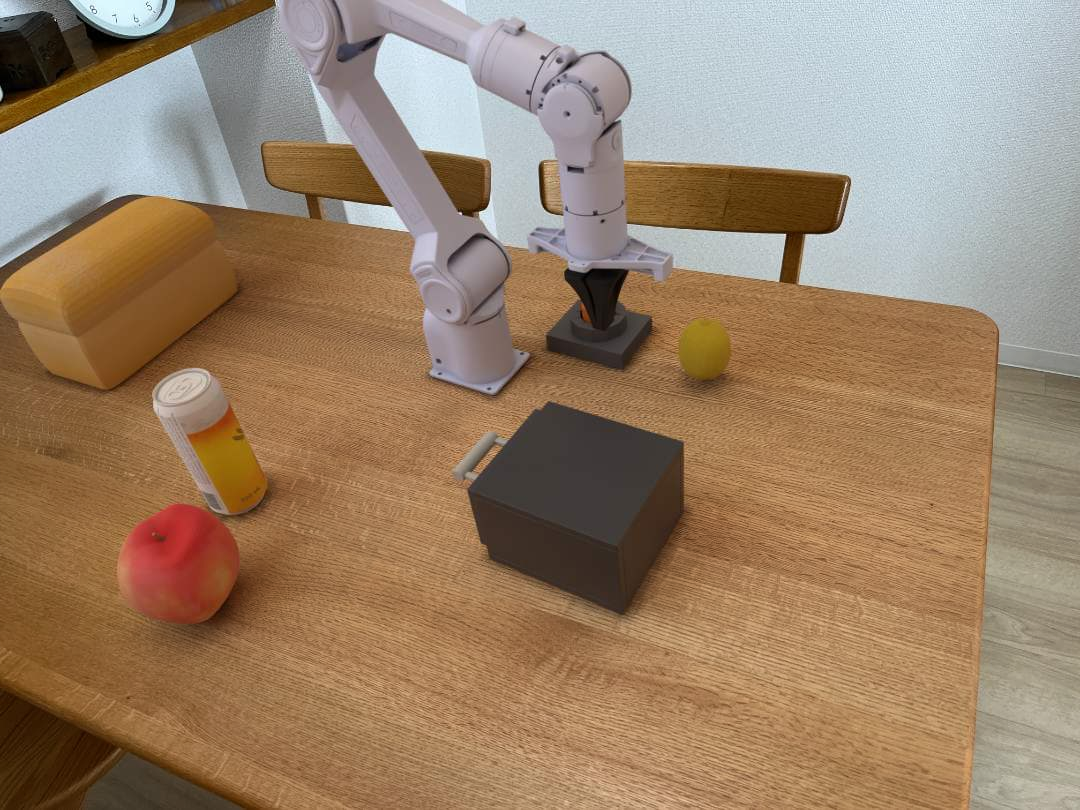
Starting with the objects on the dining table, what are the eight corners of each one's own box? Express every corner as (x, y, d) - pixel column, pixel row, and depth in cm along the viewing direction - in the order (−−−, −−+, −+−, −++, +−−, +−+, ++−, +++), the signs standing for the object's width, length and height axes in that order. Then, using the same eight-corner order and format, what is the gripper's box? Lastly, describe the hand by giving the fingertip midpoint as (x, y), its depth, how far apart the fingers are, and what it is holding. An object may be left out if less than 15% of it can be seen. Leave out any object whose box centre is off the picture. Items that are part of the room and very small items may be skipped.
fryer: (489, 559, 74) (472, 491, 68) (558, 468, 81) (548, 400, 75) (623, 615, 67) (617, 546, 61) (684, 512, 75) (684, 441, 69)
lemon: (728, 396, 86) (731, 336, 81) (676, 394, 88) (676, 334, 82) (730, 364, 90) (733, 304, 85) (680, 362, 92) (679, 304, 86)
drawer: (444, 528, 76) (428, 474, 71) (509, 450, 83) (498, 396, 78) (601, 593, 68) (595, 538, 63) (658, 502, 75) (656, 445, 70)
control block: (547, 349, 96) (543, 322, 94) (579, 313, 101) (577, 286, 99) (622, 369, 92) (620, 341, 89) (652, 331, 97) (651, 303, 94)
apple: (219, 544, 79) (177, 473, 72) (277, 590, 74) (237, 518, 67) (130, 613, 74) (77, 543, 67) (185, 668, 69) (133, 598, 62)
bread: (110, 393, 100) (48, 291, 91) (44, 373, 106) (-21, 275, 96) (244, 288, 116) (203, 192, 106) (181, 275, 121) (136, 182, 111)
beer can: (281, 480, 85) (228, 369, 75) (247, 524, 80) (187, 411, 71) (234, 471, 87) (176, 361, 77) (199, 513, 82) (133, 403, 73)
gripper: (502, 208, 73) (521, 329, 82) (647, 236, 67) (651, 365, 75) (543, 174, 78) (557, 293, 86) (682, 197, 71) (682, 324, 80)
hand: (603, 324), depth 81 cm, fingers closed
